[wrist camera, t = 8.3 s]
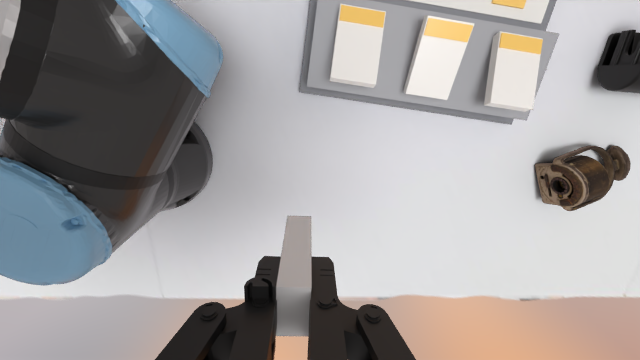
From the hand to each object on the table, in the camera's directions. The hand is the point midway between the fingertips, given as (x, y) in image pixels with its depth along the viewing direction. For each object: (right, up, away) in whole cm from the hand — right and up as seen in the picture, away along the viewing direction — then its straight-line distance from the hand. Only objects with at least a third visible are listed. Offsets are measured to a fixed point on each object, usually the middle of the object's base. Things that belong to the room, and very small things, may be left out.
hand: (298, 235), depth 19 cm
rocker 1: (+5, +18, +13) cm, 23 cm away
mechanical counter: (+40, +5, +26) cm, 48 cm away
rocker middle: (+14, +17, +14) cm, 26 cm away
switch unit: (+15, +23, +19) cm, 33 cm away
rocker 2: (+23, +16, +15) cm, 32 cm away
